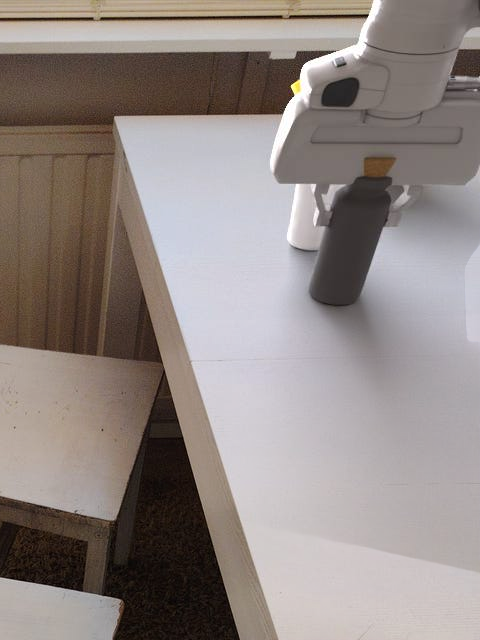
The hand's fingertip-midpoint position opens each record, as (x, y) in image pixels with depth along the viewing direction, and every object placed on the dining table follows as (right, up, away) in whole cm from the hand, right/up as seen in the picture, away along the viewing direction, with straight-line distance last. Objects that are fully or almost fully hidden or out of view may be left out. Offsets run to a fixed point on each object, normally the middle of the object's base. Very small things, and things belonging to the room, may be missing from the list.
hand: (354, 224), depth 89 cm
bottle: (0, -5, +6) cm, 8 cm away
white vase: (0, +5, +14) cm, 15 cm away
